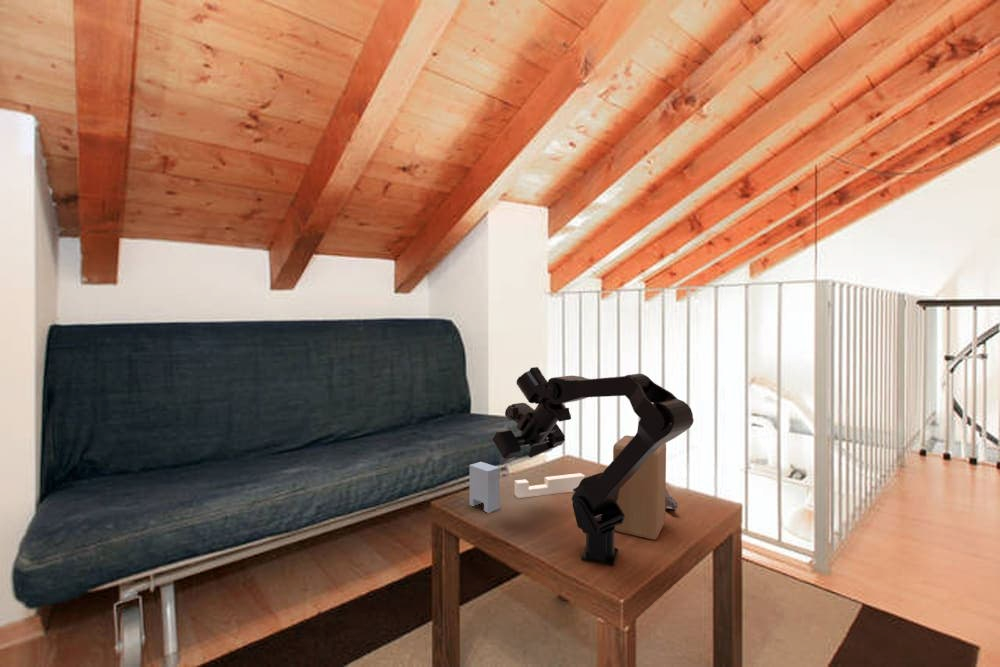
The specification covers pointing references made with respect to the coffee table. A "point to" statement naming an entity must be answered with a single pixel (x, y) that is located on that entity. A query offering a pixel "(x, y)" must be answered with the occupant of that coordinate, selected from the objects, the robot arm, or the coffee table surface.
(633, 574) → the coffee table surface
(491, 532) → the coffee table surface
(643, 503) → the wooden block
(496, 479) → the slotted block
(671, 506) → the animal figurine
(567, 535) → the coffee table surface
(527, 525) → the coffee table surface
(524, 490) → the slotted rail
